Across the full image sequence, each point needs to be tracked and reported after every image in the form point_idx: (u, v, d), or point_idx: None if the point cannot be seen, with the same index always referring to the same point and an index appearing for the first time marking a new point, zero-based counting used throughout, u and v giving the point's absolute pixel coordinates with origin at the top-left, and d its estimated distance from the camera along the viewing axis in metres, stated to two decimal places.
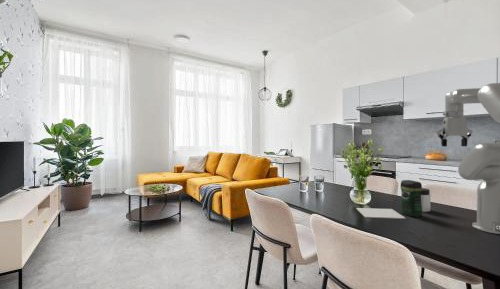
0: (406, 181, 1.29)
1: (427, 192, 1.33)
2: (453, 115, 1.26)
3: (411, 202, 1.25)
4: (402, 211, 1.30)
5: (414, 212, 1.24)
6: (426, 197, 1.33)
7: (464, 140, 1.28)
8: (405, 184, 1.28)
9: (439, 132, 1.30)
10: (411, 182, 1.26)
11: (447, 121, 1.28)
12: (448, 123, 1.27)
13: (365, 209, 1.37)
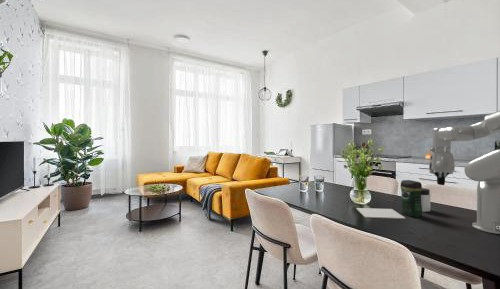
0: (406, 181, 1.29)
1: (427, 192, 1.33)
2: (440, 151, 1.23)
3: (411, 202, 1.25)
4: (402, 211, 1.30)
5: (414, 212, 1.24)
6: (426, 197, 1.33)
7: None
8: (405, 184, 1.28)
9: (432, 172, 1.26)
10: (411, 182, 1.26)
11: (434, 157, 1.25)
12: (435, 159, 1.24)
13: (365, 209, 1.37)
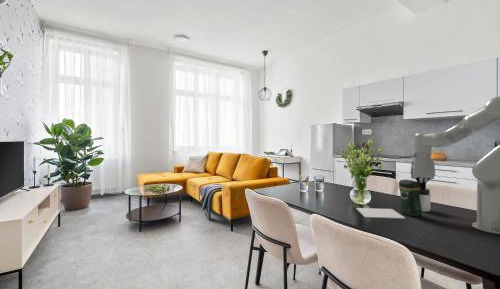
0: (404, 181, 1.29)
1: (427, 192, 1.33)
2: (421, 157, 1.25)
3: (410, 201, 1.25)
4: (402, 211, 1.30)
5: (413, 211, 1.24)
6: (426, 197, 1.33)
7: None
8: (403, 184, 1.28)
9: (414, 177, 1.28)
10: (409, 182, 1.26)
11: (415, 162, 1.26)
12: (416, 165, 1.26)
13: (365, 209, 1.37)
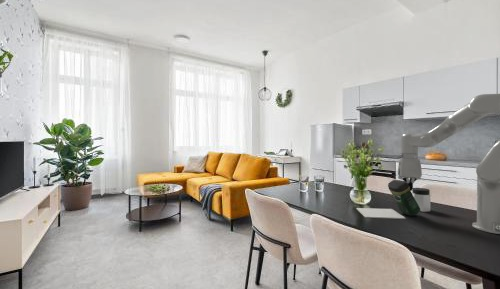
0: (392, 184, 1.27)
1: (427, 192, 1.33)
2: (407, 157, 1.26)
3: (404, 203, 1.24)
4: (401, 211, 1.30)
5: (411, 211, 1.24)
6: (426, 197, 1.33)
7: None
8: (392, 189, 1.26)
9: (401, 177, 1.29)
10: (397, 185, 1.24)
11: (402, 163, 1.27)
12: (402, 165, 1.27)
13: (365, 209, 1.37)
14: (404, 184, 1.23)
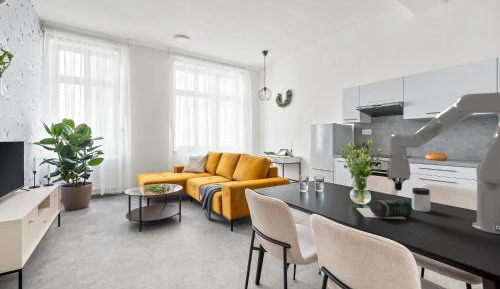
0: (374, 211, 1.26)
1: (427, 192, 1.33)
2: (396, 158, 1.27)
3: (396, 215, 1.24)
4: None
5: (407, 214, 1.23)
6: (426, 197, 1.33)
7: None
8: None
9: (390, 177, 1.29)
10: (378, 214, 1.23)
11: (391, 163, 1.28)
12: (391, 165, 1.27)
13: (365, 209, 1.37)
14: (381, 210, 1.21)
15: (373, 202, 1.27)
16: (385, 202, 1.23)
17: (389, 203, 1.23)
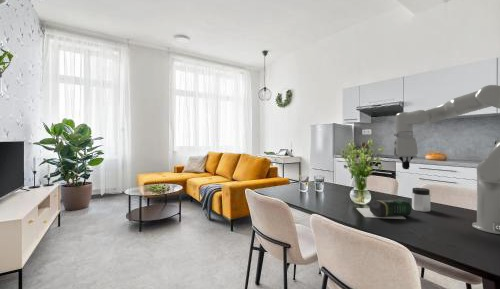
0: (373, 212, 1.26)
1: (427, 192, 1.33)
2: (402, 136, 1.26)
3: (396, 215, 1.24)
4: None
5: (406, 213, 1.23)
6: (426, 197, 1.33)
7: None
8: (377, 215, 1.25)
9: (397, 156, 1.28)
10: (377, 213, 1.23)
11: (397, 142, 1.27)
12: (398, 144, 1.27)
13: (365, 209, 1.37)
14: (381, 209, 1.21)
15: (372, 202, 1.28)
16: (384, 201, 1.24)
17: (388, 202, 1.24)
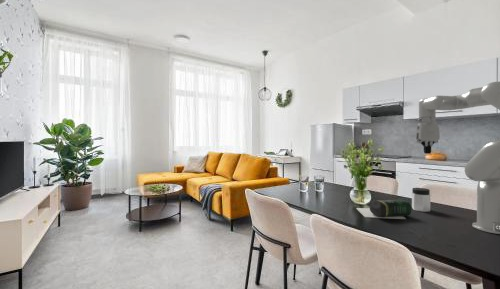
0: (373, 212, 1.26)
1: (427, 192, 1.33)
2: (426, 121, 1.30)
3: (396, 215, 1.24)
4: None
5: (406, 214, 1.23)
6: (426, 197, 1.33)
7: None
8: None
9: (419, 141, 1.33)
10: (377, 214, 1.23)
11: (420, 127, 1.31)
12: (421, 129, 1.31)
13: (365, 209, 1.37)
14: (381, 209, 1.21)
15: (372, 202, 1.27)
16: (384, 202, 1.24)
17: (388, 202, 1.24)
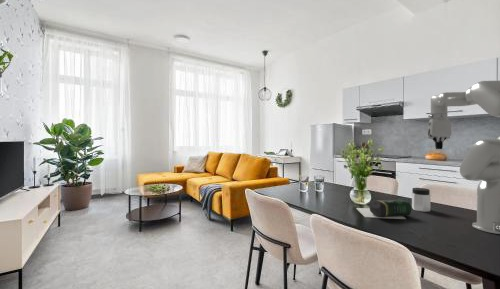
0: (373, 212, 1.26)
1: (427, 192, 1.33)
2: (437, 117, 1.33)
3: (396, 215, 1.24)
4: None
5: (406, 213, 1.23)
6: (426, 197, 1.33)
7: None
8: None
9: (431, 137, 1.36)
10: (377, 213, 1.23)
11: (432, 123, 1.34)
12: (433, 125, 1.34)
13: (365, 209, 1.37)
14: (381, 209, 1.21)
15: (372, 202, 1.27)
16: (384, 201, 1.24)
17: (388, 202, 1.24)
